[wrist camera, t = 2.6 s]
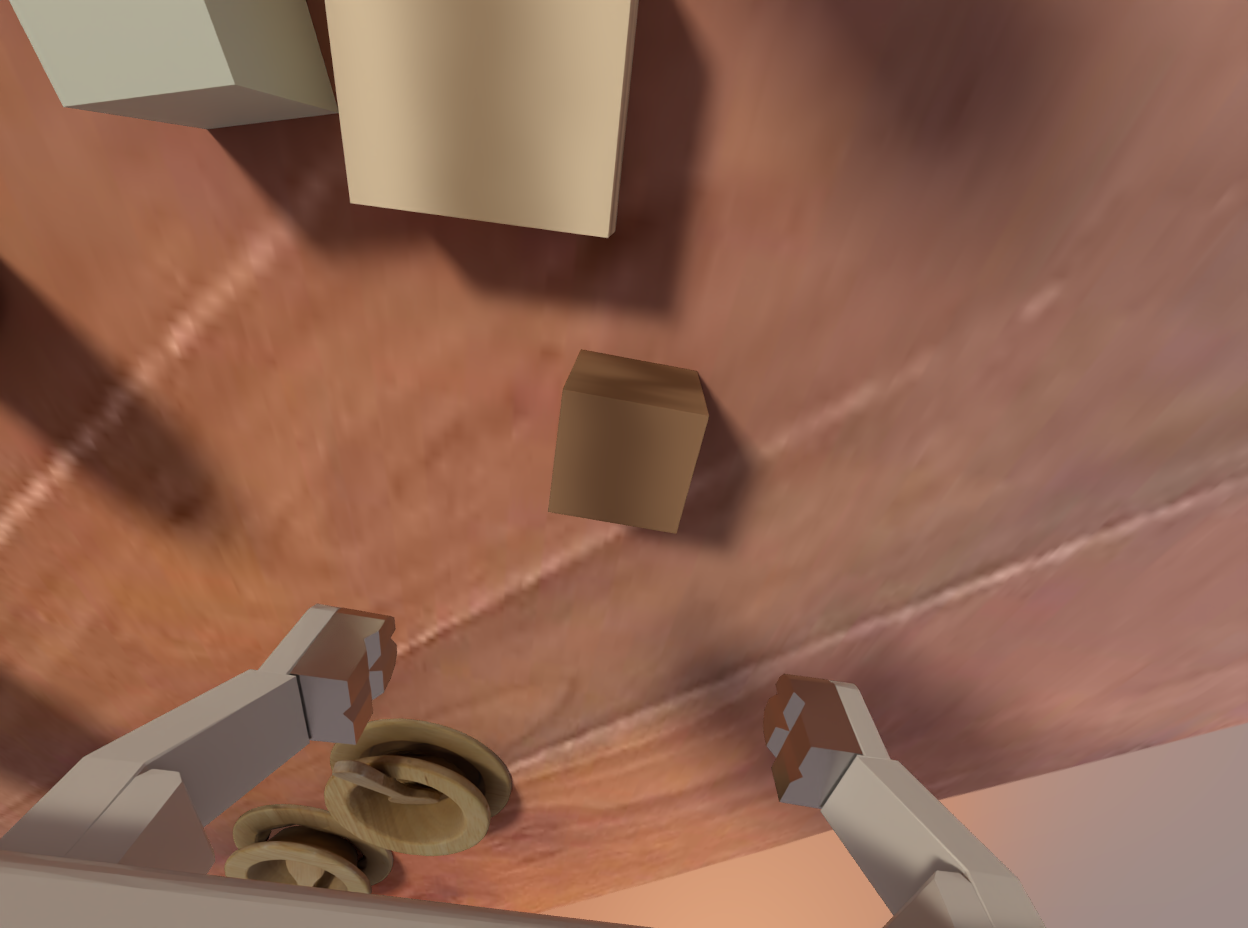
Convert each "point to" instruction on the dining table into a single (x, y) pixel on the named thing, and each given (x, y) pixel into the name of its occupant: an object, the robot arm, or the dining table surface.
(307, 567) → the dining table surface
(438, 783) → the tableware set
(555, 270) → the dining table surface
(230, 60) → the grey green cube
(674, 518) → the walnut cube
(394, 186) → the maple base
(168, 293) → the dining table surface
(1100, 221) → the dining table surface
